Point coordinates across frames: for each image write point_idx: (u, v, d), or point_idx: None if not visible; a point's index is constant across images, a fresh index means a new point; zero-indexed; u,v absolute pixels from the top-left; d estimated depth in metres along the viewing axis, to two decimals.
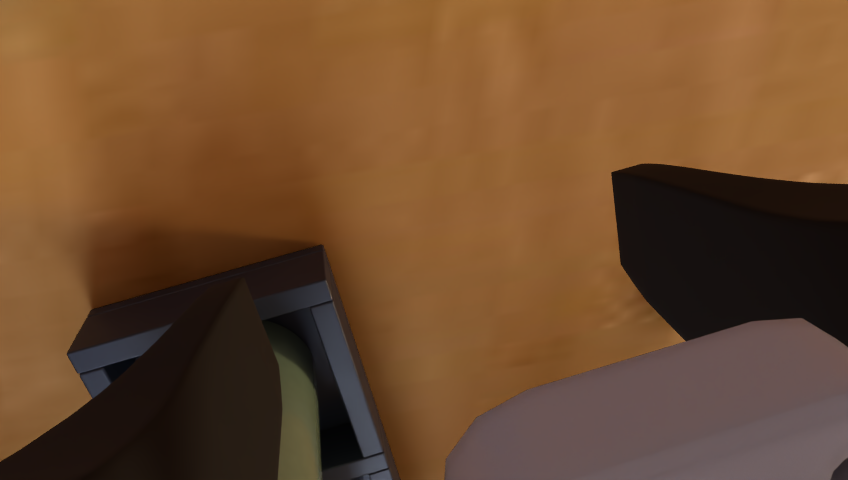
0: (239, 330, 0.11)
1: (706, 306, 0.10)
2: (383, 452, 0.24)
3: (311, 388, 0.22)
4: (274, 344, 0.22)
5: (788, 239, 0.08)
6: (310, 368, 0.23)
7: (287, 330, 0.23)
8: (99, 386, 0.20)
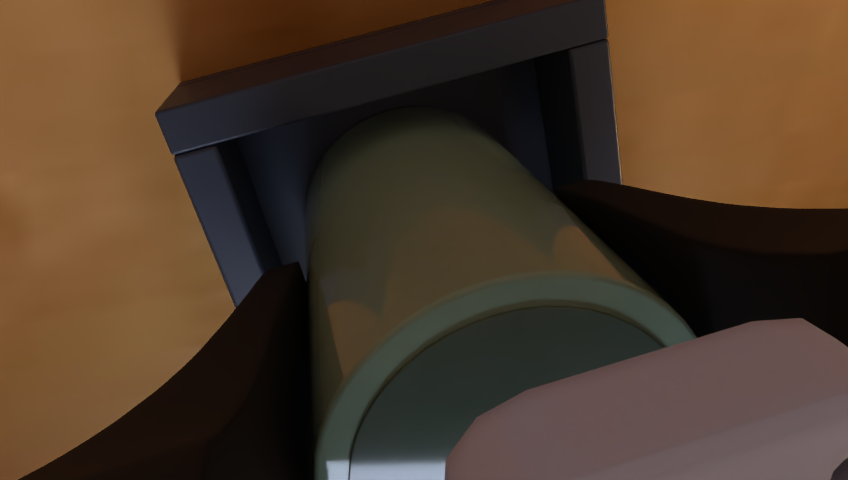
0: (300, 313, 0.11)
1: None
2: None
3: None
4: (486, 134, 0.13)
5: (704, 264, 0.08)
6: None
7: None
8: (207, 182, 0.12)
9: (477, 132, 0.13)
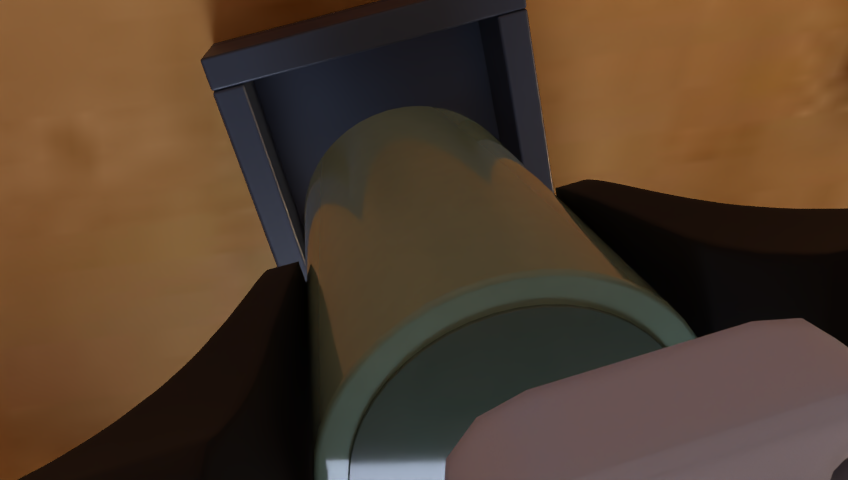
0: (300, 313, 0.11)
1: None
2: None
3: None
4: (485, 134, 0.13)
5: (704, 264, 0.08)
6: None
7: (487, 130, 0.14)
8: (237, 111, 0.16)
9: (477, 131, 0.13)
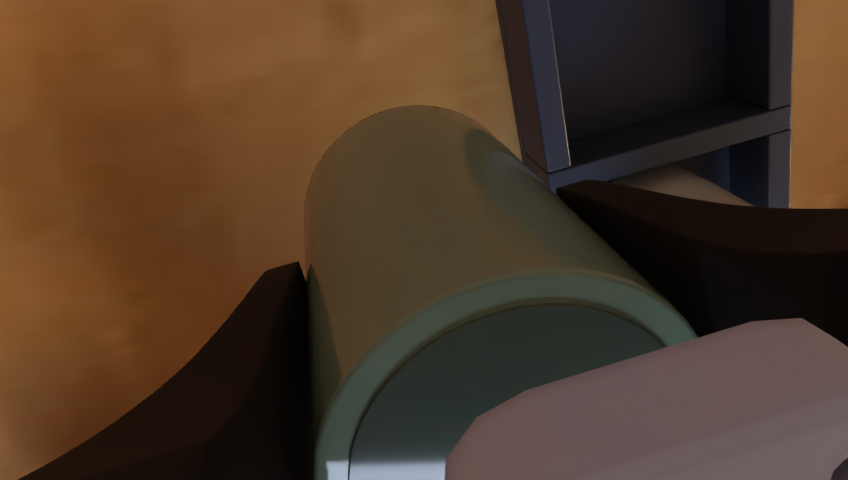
0: (300, 313, 0.11)
1: None
2: (790, 105, 0.21)
3: None
4: (486, 133, 0.13)
5: (703, 264, 0.08)
6: None
7: None
8: None
9: (477, 131, 0.13)
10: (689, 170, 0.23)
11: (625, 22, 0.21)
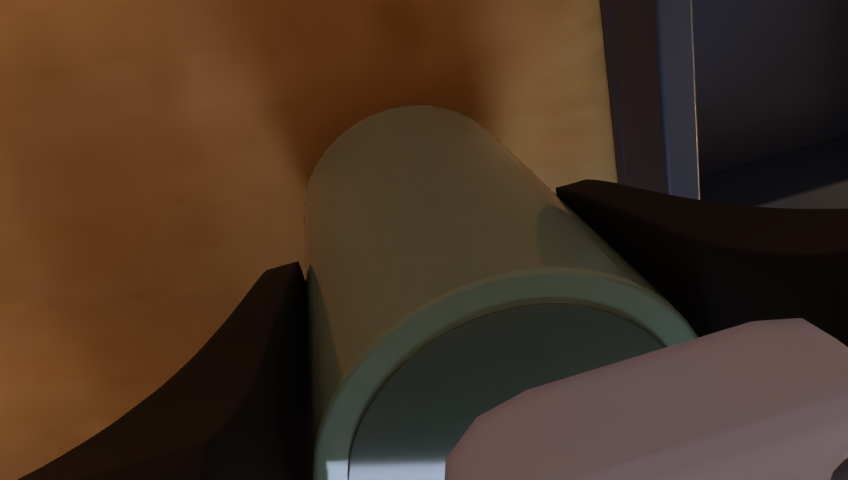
0: (300, 313, 0.11)
1: None
2: None
3: None
4: (485, 133, 0.13)
5: (704, 264, 0.08)
6: None
7: (487, 129, 0.14)
8: None
9: (477, 130, 0.13)
10: None
11: (767, 28, 0.16)
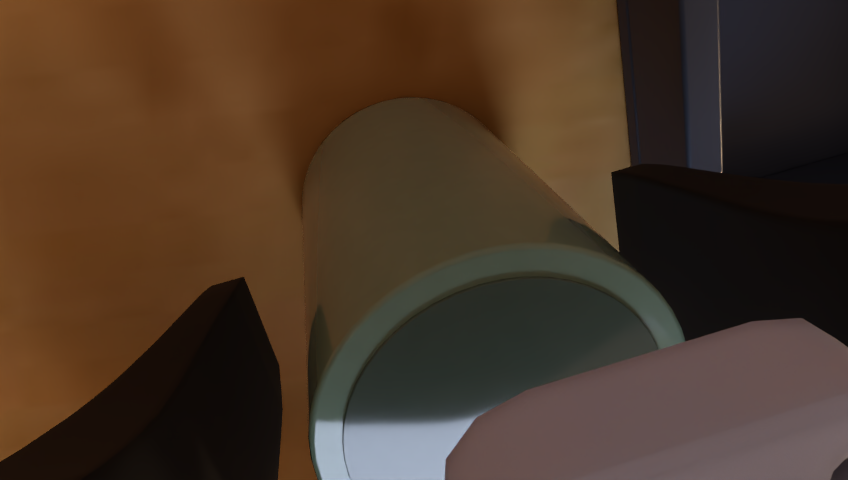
0: (239, 330, 0.11)
1: (706, 306, 0.10)
2: None
3: None
4: (477, 124, 0.14)
5: (789, 238, 0.08)
6: None
7: None
8: None
9: (469, 121, 0.13)
10: None
11: (793, 33, 0.15)
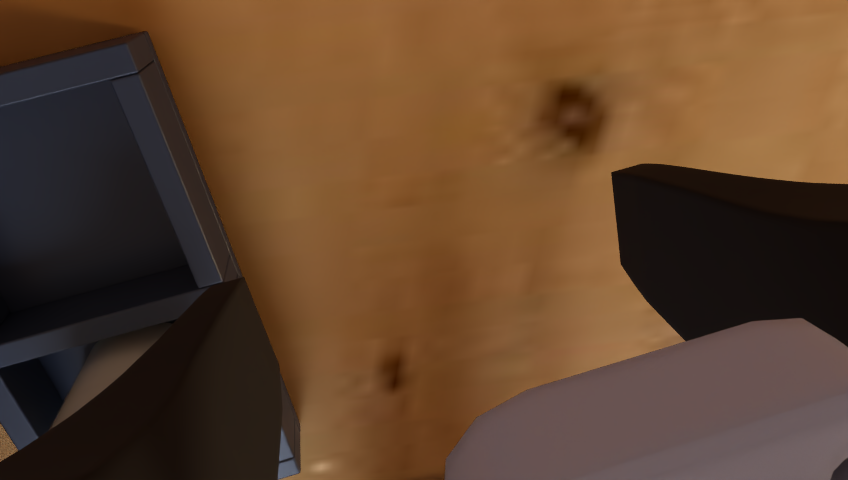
0: (239, 330, 0.11)
1: (706, 306, 0.10)
2: None
3: None
4: None
5: (789, 239, 0.08)
6: None
7: None
8: None
9: None
10: None
11: (60, 194, 0.20)
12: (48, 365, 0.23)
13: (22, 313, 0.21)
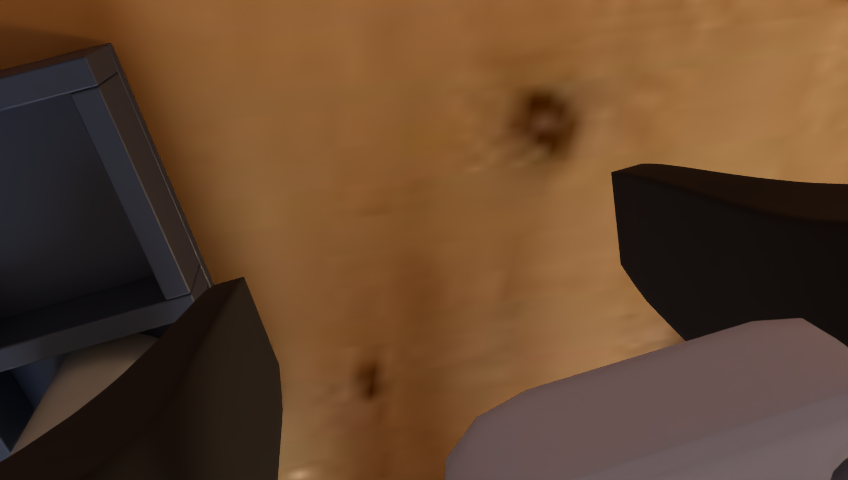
0: (239, 330, 0.11)
1: (706, 306, 0.10)
2: (190, 294, 0.20)
3: None
4: None
5: (789, 239, 0.08)
6: None
7: None
8: None
9: None
10: (141, 343, 0.22)
11: (27, 207, 0.20)
12: (20, 377, 0.23)
13: None
